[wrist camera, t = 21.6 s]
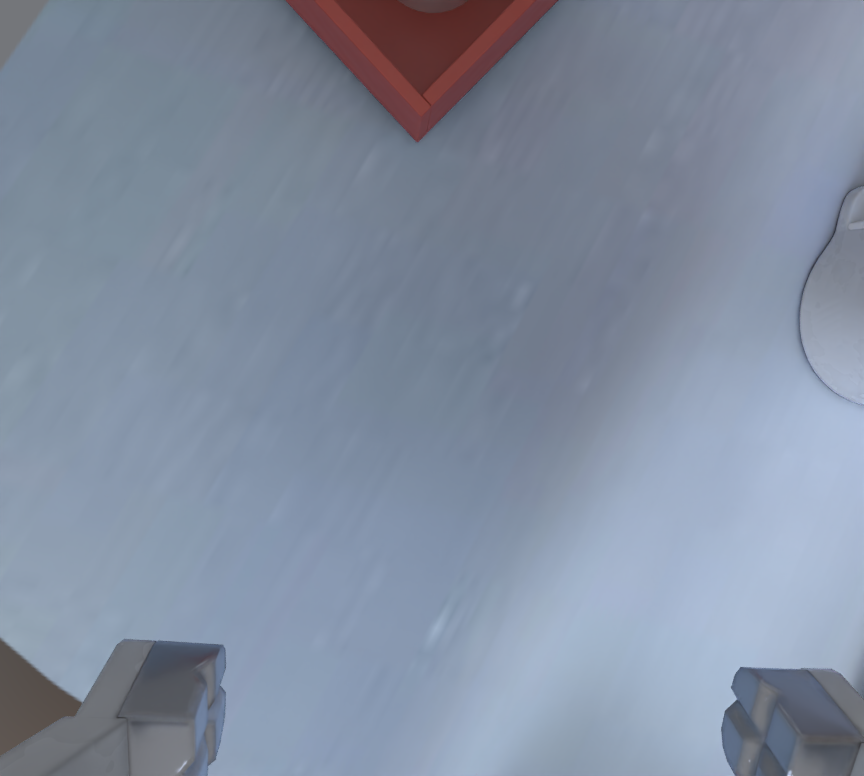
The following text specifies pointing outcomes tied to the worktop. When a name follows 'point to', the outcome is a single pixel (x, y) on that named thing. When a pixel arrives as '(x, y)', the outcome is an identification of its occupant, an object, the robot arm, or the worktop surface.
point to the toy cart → (419, 49)
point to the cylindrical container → (433, 5)
